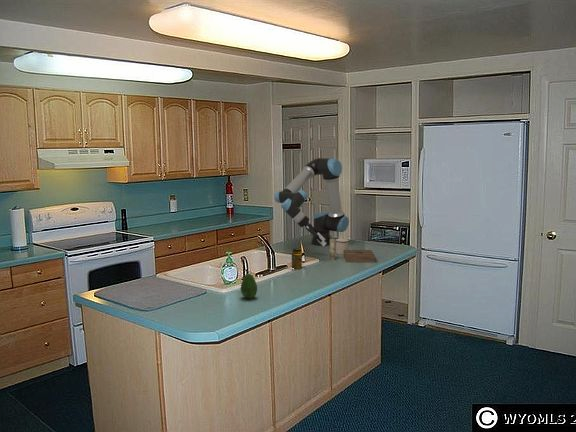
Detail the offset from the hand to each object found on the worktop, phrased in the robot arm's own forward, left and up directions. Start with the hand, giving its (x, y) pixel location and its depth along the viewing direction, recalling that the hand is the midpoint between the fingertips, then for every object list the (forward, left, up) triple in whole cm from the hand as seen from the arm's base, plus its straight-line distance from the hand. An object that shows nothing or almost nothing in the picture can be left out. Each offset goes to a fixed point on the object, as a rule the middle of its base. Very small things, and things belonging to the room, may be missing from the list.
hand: (324, 242), depth 329 cm
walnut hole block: (-1, +22, -11) cm, 25 cm away
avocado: (+82, -42, -11) cm, 93 cm away
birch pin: (-1, +5, -11) cm, 12 cm away
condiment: (+24, -19, -11) cm, 32 cm away
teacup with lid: (-20, +12, -11) cm, 26 cm away
